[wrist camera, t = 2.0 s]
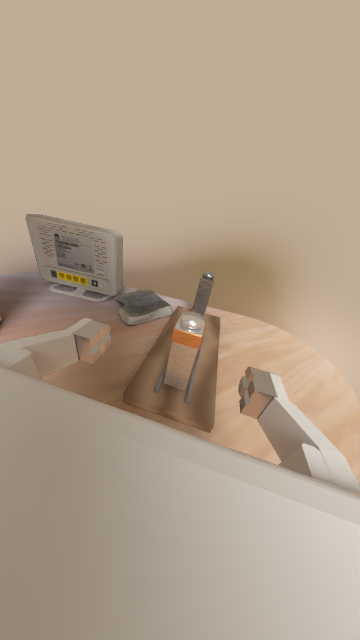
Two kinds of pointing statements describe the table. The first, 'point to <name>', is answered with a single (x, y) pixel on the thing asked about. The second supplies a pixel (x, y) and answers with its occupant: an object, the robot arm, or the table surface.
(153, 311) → the fossil
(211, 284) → the fixed leg
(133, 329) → the table surface
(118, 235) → the network device
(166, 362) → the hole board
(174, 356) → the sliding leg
